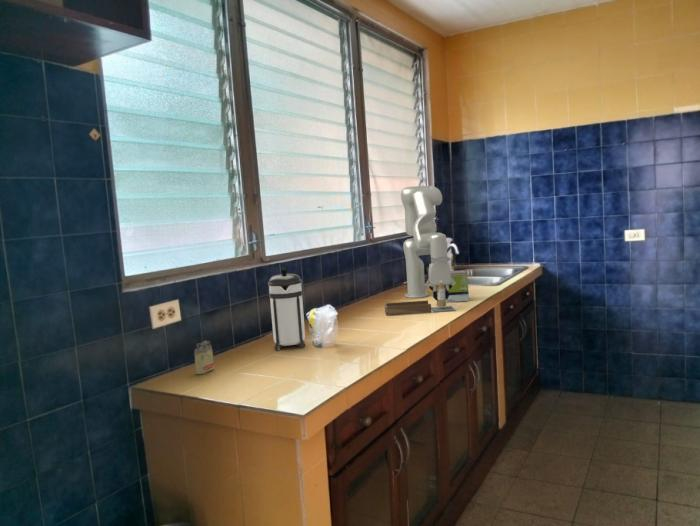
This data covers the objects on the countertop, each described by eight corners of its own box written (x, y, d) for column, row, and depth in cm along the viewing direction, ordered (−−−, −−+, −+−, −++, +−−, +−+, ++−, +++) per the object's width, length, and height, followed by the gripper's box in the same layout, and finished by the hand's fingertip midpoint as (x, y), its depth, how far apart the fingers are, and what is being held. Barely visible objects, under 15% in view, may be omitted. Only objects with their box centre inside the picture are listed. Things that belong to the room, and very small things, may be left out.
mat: (430, 308, 263) (430, 307, 263) (451, 307, 263) (451, 306, 263) (433, 312, 253) (433, 311, 253) (455, 311, 253) (455, 310, 253)
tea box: (466, 298, 284) (465, 269, 283) (469, 301, 274) (467, 272, 273) (437, 299, 286) (435, 271, 284) (438, 303, 276) (437, 273, 274)
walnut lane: (384, 311, 263) (384, 303, 263) (428, 308, 263) (427, 300, 263) (386, 315, 253) (385, 307, 253) (431, 312, 253) (431, 304, 253)
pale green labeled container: (202, 375, 179) (199, 345, 178) (193, 374, 181) (190, 344, 180) (216, 368, 185) (213, 339, 184) (207, 367, 187) (205, 339, 186)
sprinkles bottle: (435, 305, 260) (434, 277, 259) (444, 304, 261) (443, 276, 259) (438, 307, 256) (436, 278, 254) (447, 306, 256) (446, 277, 255)
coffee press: (319, 343, 211) (313, 265, 208) (287, 353, 199) (281, 270, 196) (290, 338, 223) (284, 264, 219) (258, 347, 211) (251, 269, 208)
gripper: (455, 258, 260) (457, 296, 262) (420, 260, 260) (422, 299, 262) (458, 260, 252) (460, 299, 254) (422, 262, 252) (424, 301, 254)
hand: (441, 298), depth 258 cm, fingers closed on sprinkles bottle, 4 cm apart
